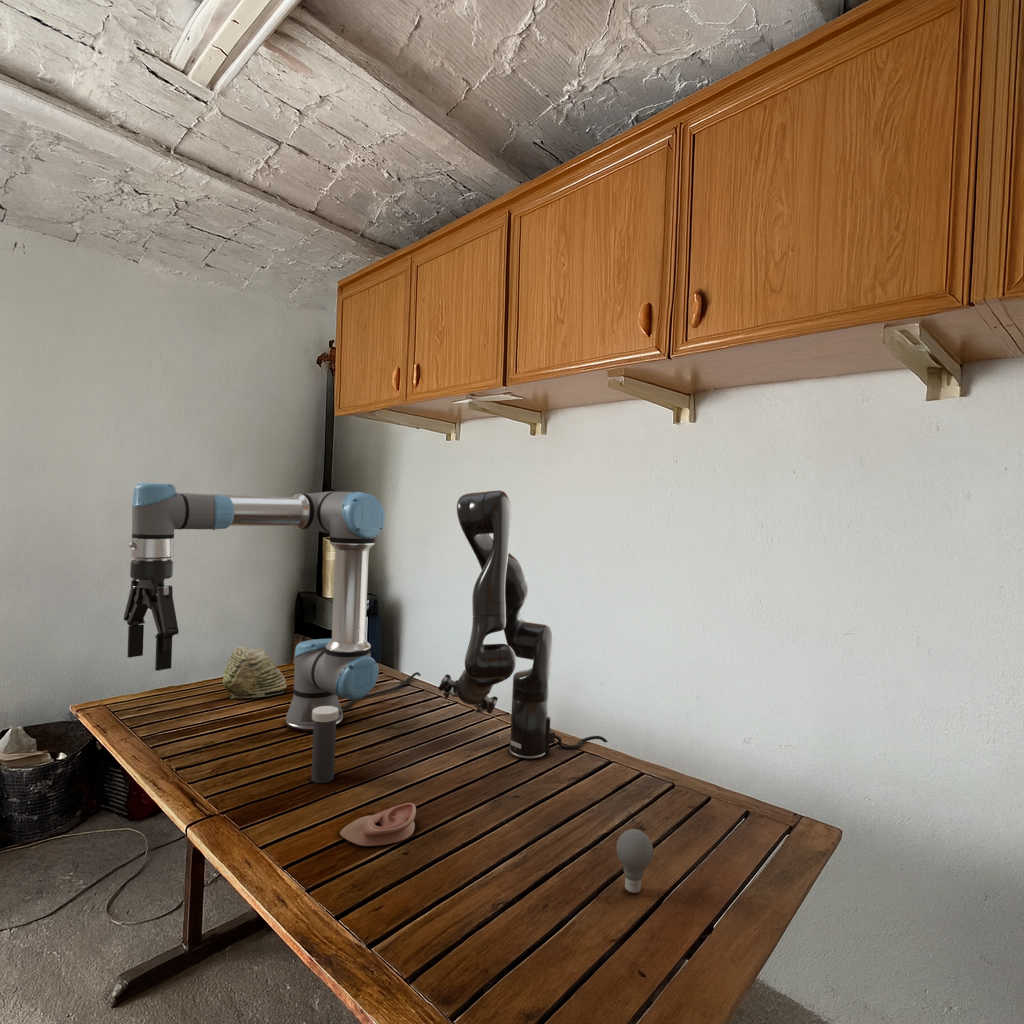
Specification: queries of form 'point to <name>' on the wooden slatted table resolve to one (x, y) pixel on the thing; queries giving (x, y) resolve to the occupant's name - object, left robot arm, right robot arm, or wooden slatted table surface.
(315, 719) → the lid
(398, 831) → the anatomical model
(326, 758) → the jar
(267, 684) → the fossil
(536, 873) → the wooden slatted table surface
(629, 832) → the light bulb
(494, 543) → the right robot arm
